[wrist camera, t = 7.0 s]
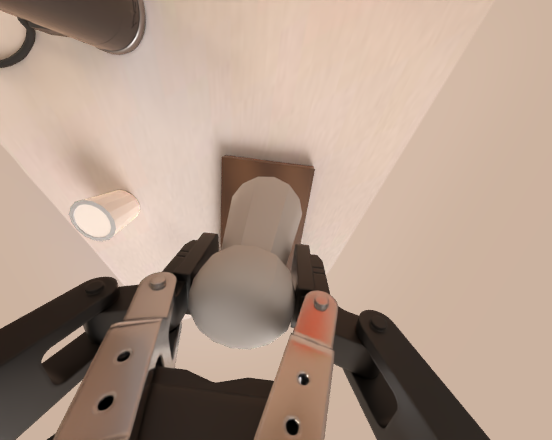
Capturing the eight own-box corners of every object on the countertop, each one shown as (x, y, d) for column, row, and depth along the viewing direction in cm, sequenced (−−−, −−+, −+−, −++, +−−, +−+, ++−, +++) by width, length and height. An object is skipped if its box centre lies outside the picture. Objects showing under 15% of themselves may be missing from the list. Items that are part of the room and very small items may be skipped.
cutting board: (223, 259, 42) (220, 265, 41) (225, 155, 34) (221, 157, 32) (294, 268, 42) (294, 275, 41) (313, 166, 34) (314, 169, 32)
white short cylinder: (136, 185, 37) (104, 199, 30) (148, 221, 40) (122, 241, 33) (98, 187, 37) (59, 201, 31) (113, 223, 40) (80, 242, 34)
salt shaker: (304, 225, 20) (325, 368, 9) (246, 234, 21) (193, 377, 9) (293, 163, 18) (302, 245, 6) (229, 176, 19) (129, 271, 7)
